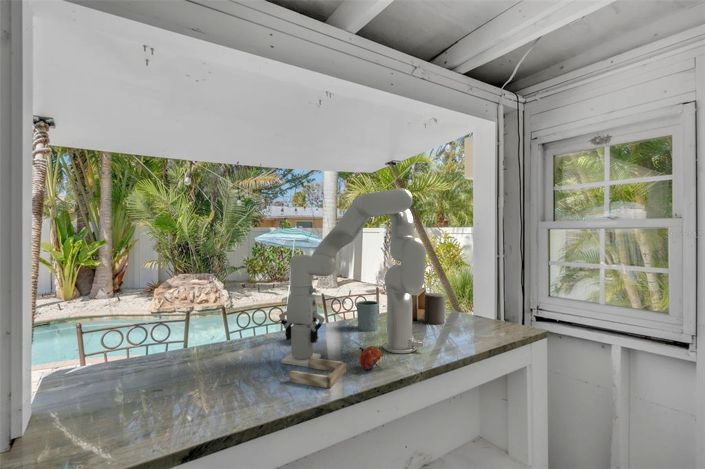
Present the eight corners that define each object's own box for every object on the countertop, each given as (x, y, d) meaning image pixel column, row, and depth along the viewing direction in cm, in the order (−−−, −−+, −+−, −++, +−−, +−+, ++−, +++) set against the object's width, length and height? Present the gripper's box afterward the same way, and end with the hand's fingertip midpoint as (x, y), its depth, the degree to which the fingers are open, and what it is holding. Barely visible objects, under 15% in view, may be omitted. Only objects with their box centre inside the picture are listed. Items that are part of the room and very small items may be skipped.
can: (292, 353, 131) (292, 319, 131) (313, 352, 132) (313, 319, 132) (290, 361, 124) (290, 325, 124) (312, 360, 125) (312, 324, 124)
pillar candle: (424, 324, 176) (425, 292, 176) (424, 319, 186) (424, 289, 186) (445, 325, 175) (446, 293, 174) (443, 320, 184) (444, 290, 184)
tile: (320, 356, 131) (320, 354, 131) (307, 366, 122) (307, 363, 122) (295, 353, 134) (295, 350, 134) (281, 362, 125) (281, 360, 125)
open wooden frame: (346, 371, 117) (346, 362, 117) (329, 388, 105) (329, 377, 105) (309, 366, 122) (309, 357, 122) (289, 381, 110) (289, 371, 110)
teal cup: (379, 332, 163) (379, 304, 163) (356, 331, 163) (356, 304, 163) (377, 326, 173) (377, 300, 173) (356, 325, 173) (356, 300, 173)
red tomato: (383, 372, 123) (362, 350, 127) (393, 358, 119) (372, 336, 124) (370, 382, 117) (349, 358, 121) (381, 368, 113) (359, 343, 118)
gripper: (328, 290, 128) (328, 340, 128) (285, 288, 134) (285, 335, 134) (319, 294, 121) (319, 346, 121) (273, 291, 127) (273, 340, 127)
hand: (301, 340), depth 128 cm, fingers open, 9 cm apart
